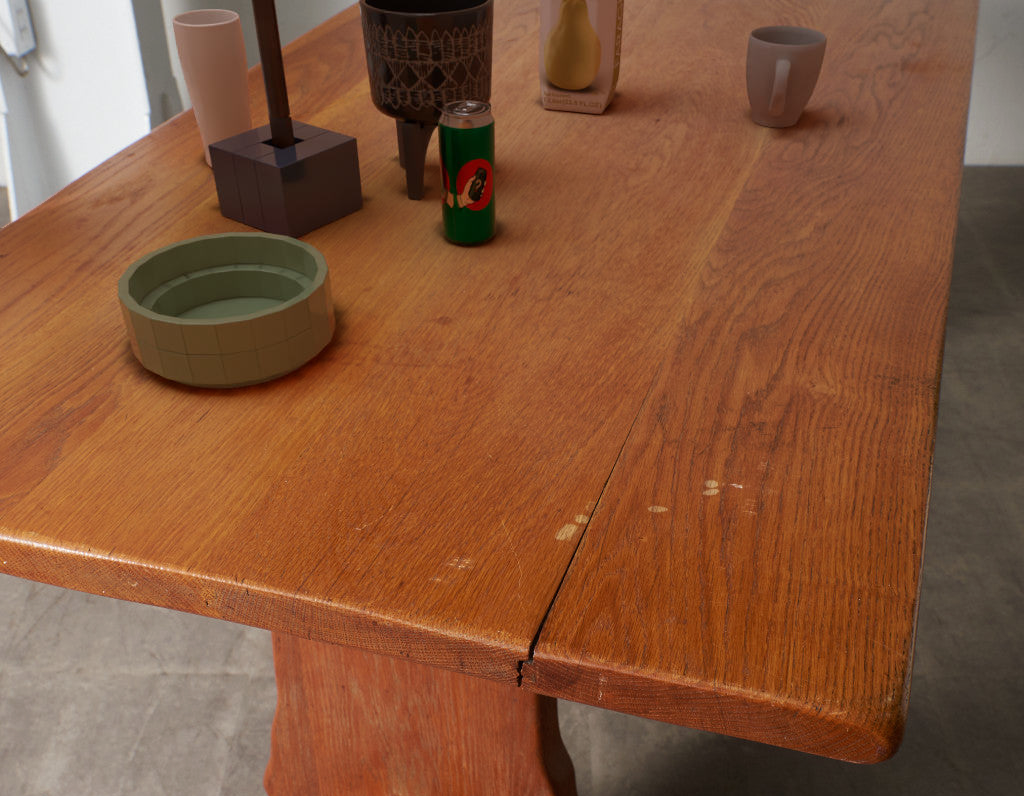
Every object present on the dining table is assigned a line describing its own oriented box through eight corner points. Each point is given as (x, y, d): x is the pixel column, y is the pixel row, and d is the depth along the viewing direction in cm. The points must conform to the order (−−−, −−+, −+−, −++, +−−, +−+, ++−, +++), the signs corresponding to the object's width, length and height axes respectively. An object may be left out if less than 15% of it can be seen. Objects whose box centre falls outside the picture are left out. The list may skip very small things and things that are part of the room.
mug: (740, 106, 127) (752, 23, 120) (812, 111, 125) (828, 27, 119) (732, 138, 118) (745, 50, 111) (810, 144, 116) (826, 55, 110)
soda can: (505, 232, 97) (505, 104, 90) (478, 252, 94) (474, 120, 86) (461, 221, 99) (457, 95, 92) (432, 240, 96) (425, 111, 88)
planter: (351, 177, 108) (332, -5, 97) (447, 150, 115) (440, -24, 103) (422, 214, 101) (410, 21, 89) (520, 182, 107) (521, -1, 96)
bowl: (95, 353, 80) (74, 283, 76) (247, 281, 89) (235, 216, 85) (226, 420, 72) (210, 346, 68) (376, 334, 82) (369, 265, 78)
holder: (221, 215, 100) (207, 144, 96) (295, 184, 107) (285, 117, 102) (290, 240, 96) (279, 168, 91) (363, 207, 102) (356, 137, 97)
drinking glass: (250, 177, 108) (225, 26, 99) (190, 173, 109) (159, 24, 100) (271, 155, 113) (249, 9, 104) (214, 151, 114) (187, 7, 105)
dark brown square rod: (267, 146, 97) (230, -93, 84) (283, 141, 98) (248, -96, 86) (285, 152, 96) (250, -90, 83) (300, 146, 97) (268, -93, 84)
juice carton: (534, 111, 125) (536, -115, 110) (551, 92, 131) (555, -125, 116) (607, 118, 123) (620, -111, 108) (621, 98, 129) (635, -121, 114)
